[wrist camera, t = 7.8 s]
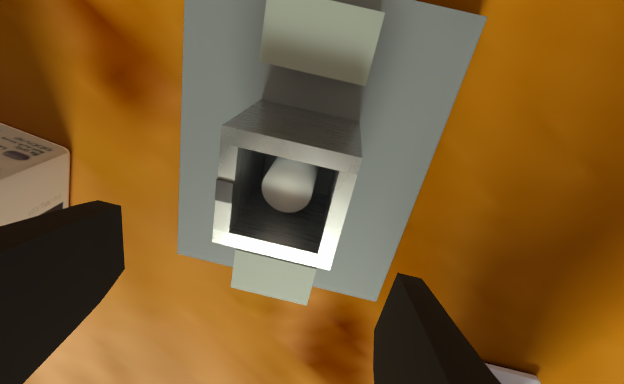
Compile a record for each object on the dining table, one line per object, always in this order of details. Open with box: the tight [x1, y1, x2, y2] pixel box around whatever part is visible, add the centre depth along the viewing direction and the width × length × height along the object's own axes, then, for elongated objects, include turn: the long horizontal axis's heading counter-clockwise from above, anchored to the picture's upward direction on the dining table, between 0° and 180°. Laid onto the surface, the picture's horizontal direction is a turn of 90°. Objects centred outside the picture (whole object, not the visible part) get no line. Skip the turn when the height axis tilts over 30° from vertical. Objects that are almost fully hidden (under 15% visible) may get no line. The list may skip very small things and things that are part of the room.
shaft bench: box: [177, 0, 487, 306], centre depth 15 cm, size 15×12×4 cm
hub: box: [212, 99, 362, 270], centre depth 14 cm, size 5×5×5 cm
